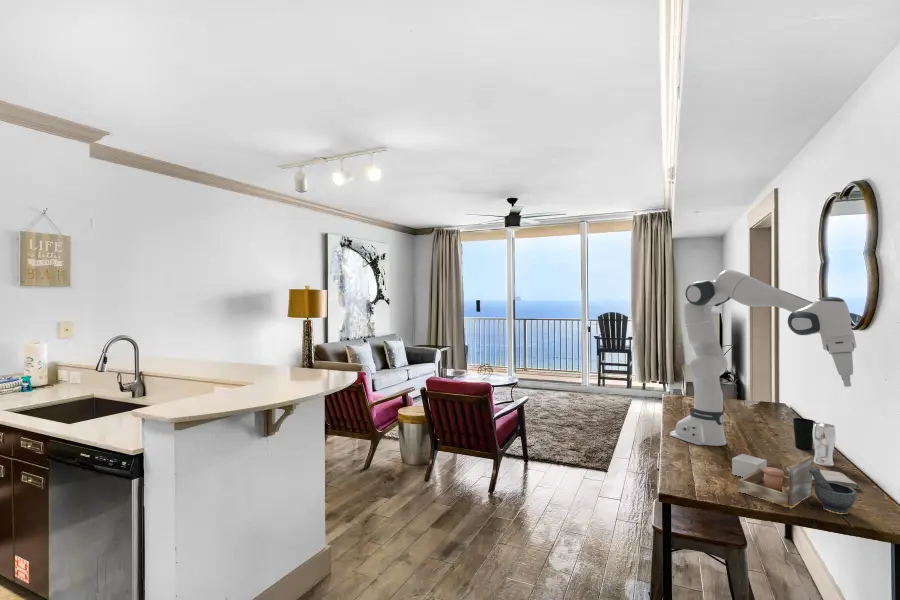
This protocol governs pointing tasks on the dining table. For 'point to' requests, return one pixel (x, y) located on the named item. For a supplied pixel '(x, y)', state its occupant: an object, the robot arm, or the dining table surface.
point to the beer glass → (823, 443)
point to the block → (747, 465)
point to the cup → (803, 433)
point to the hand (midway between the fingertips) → (846, 383)
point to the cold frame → (795, 483)
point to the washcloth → (836, 478)
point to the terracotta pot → (773, 478)
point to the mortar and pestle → (833, 493)
